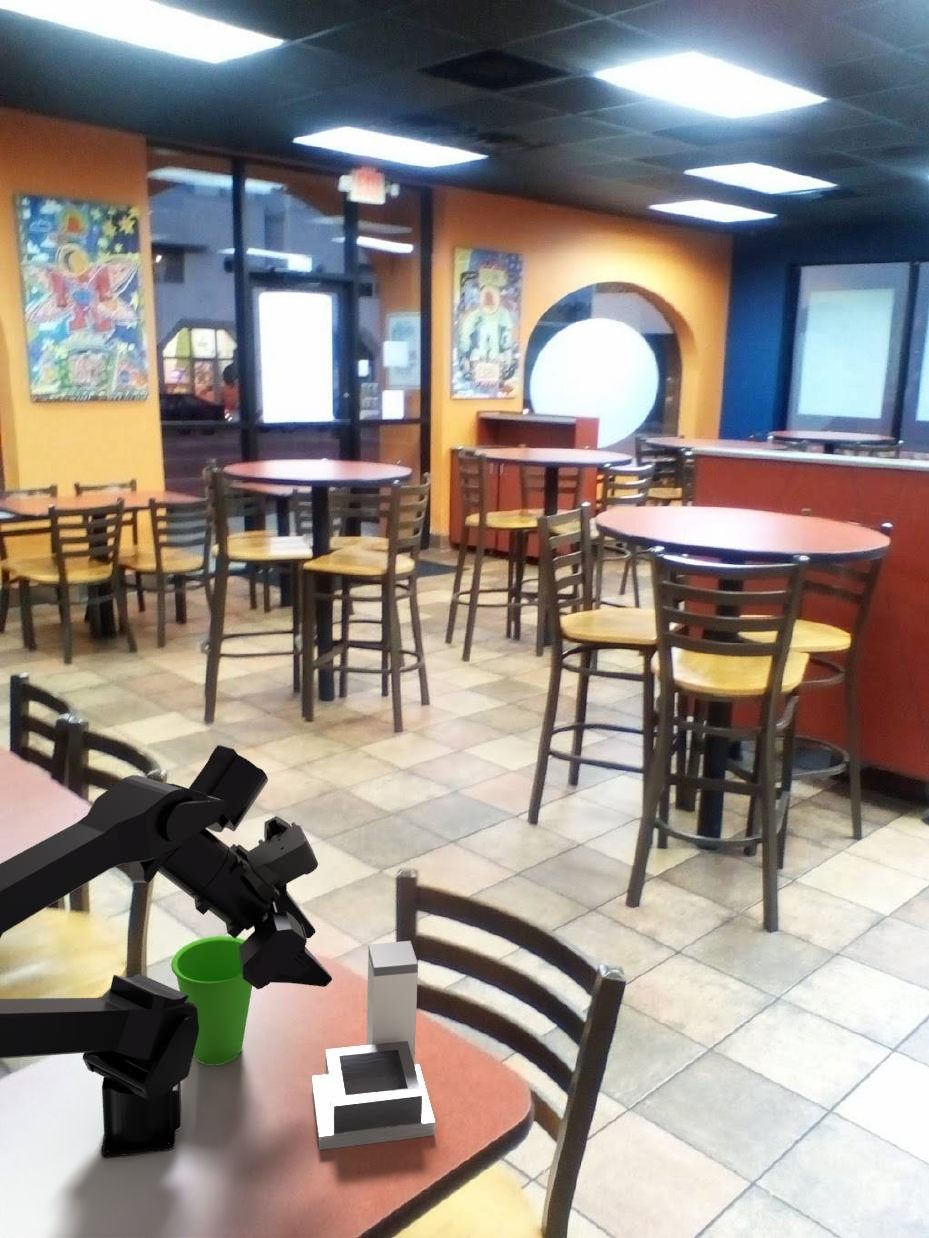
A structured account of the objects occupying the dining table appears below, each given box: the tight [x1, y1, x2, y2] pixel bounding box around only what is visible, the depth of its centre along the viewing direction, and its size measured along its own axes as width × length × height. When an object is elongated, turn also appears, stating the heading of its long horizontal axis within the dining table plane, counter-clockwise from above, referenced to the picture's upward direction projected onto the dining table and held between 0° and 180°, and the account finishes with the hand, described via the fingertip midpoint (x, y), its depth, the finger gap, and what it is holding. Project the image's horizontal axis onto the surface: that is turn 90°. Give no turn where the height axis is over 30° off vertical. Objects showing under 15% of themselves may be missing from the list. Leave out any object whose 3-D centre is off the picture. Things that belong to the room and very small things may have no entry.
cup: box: [170, 935, 253, 1066], centre depth 107 cm, size 9×9×11 cm
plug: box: [365, 940, 419, 1065], centre depth 107 cm, size 4×4×12 cm
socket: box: [312, 1041, 436, 1151], centre depth 100 cm, size 11×9×4 cm
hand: (320, 957), depth 103 cm, fingers open, 9 cm apart
